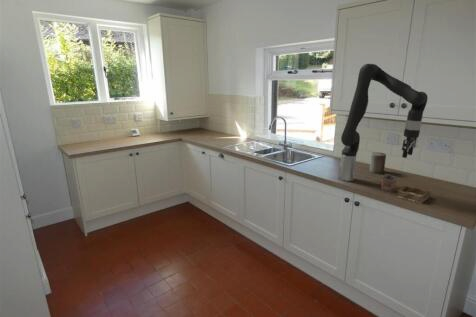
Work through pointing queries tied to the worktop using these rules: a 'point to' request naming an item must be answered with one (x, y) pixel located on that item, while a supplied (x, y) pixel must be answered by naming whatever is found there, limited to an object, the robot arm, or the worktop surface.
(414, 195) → the walnut holder
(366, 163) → the worktop surface
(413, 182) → the worktop surface
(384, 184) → the lighter
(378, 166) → the pillar candle
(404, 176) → the worktop surface
